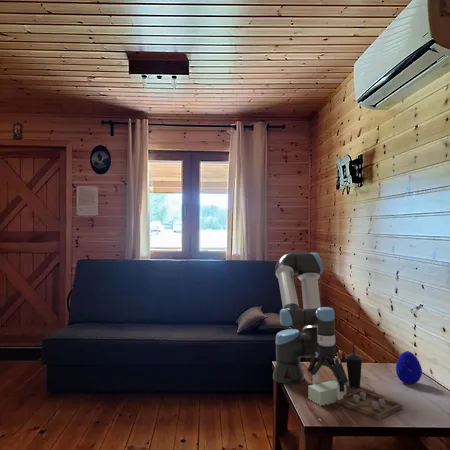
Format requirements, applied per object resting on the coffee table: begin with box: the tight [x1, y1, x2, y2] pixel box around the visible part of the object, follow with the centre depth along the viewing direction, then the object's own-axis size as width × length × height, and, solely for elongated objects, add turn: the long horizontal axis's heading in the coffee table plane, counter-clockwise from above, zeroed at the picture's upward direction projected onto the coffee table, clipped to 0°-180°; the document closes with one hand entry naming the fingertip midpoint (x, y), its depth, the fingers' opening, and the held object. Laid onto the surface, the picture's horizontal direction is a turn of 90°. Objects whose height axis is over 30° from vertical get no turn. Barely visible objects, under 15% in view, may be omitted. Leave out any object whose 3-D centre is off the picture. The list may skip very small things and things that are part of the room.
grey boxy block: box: [307, 379, 347, 407], centre depth 176 cm, size 14×8×6 cm, turn 116°
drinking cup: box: [345, 342, 363, 389], centre depth 189 cm, size 8×8×20 cm
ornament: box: [395, 350, 423, 385], centre depth 192 cm, size 11×9×15 cm
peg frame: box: [336, 388, 404, 422], centre depth 168 cm, size 20×16×4 cm
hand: (327, 394), depth 175 cm, fingers open, 13 cm apart
